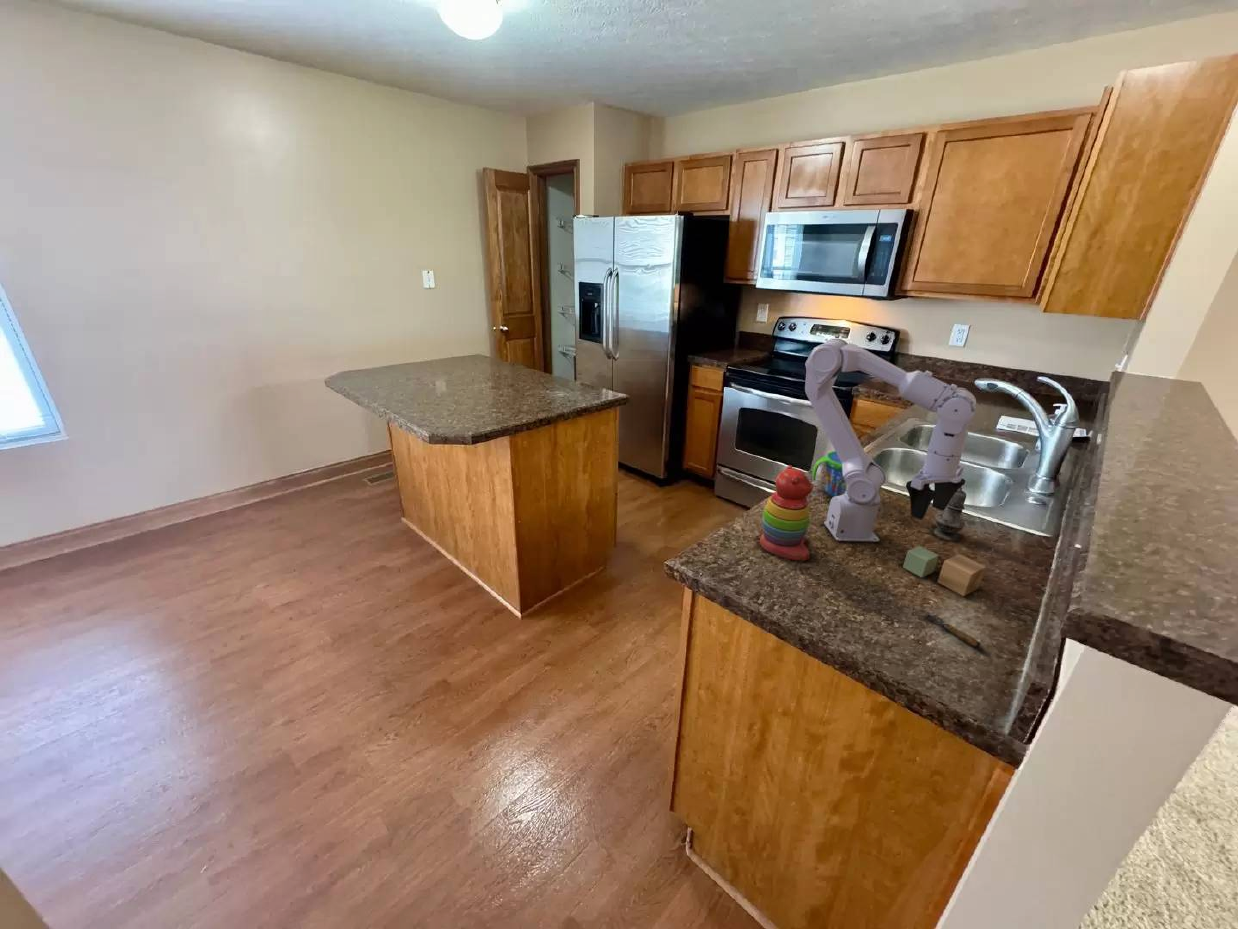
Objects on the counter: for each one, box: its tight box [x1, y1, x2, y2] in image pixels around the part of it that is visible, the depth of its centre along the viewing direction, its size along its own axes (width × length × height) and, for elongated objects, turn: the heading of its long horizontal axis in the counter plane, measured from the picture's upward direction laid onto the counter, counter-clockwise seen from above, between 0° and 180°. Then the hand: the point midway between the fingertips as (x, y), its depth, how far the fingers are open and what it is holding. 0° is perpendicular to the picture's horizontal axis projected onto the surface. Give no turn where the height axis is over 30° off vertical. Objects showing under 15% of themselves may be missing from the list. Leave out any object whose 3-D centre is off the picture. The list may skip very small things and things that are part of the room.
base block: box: [937, 553, 986, 597], centre depth 98 cm, size 5×5×5 cm
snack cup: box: [811, 450, 846, 498], centre depth 132 cm, size 16×10×10 cm
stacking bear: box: [759, 465, 814, 562], centre depth 107 cm, size 11×10×18 cm
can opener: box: [927, 612, 981, 649], centre depth 86 cm, size 9×2×1 cm, turn 23°
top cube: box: [902, 545, 940, 578], centre depth 102 cm, size 4×4×4 cm
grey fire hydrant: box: [932, 486, 967, 541], centre depth 114 cm, size 6×6×12 cm
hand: (927, 512), depth 106 cm, fingers open, 7 cm apart
